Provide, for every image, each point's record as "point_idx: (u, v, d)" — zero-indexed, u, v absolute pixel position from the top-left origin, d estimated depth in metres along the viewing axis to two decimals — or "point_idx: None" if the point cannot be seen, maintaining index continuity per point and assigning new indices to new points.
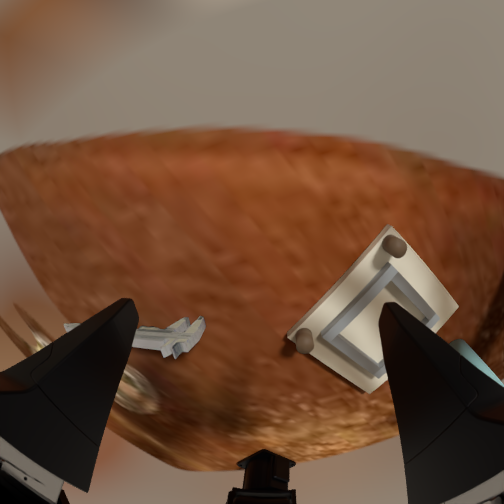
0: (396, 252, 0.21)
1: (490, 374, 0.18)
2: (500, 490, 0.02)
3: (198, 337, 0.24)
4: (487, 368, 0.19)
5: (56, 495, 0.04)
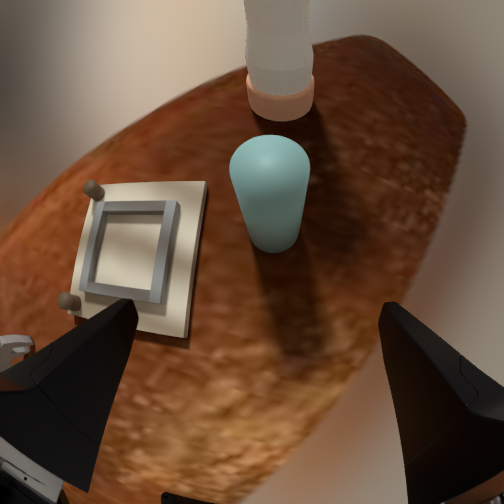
0: (88, 189, 0.24)
1: None
2: (500, 490, 0.02)
3: (16, 339, 0.21)
4: None
5: (56, 495, 0.04)
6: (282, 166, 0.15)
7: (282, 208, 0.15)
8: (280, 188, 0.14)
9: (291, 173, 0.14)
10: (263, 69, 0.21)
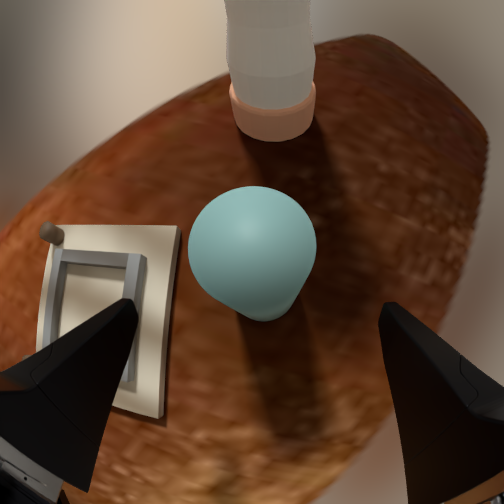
0: (44, 233, 0.19)
1: None
2: (500, 490, 0.02)
3: None
4: None
5: (56, 495, 0.04)
6: (271, 245, 0.09)
7: (271, 308, 0.10)
8: (267, 286, 0.09)
9: (286, 258, 0.09)
10: (249, 75, 0.16)
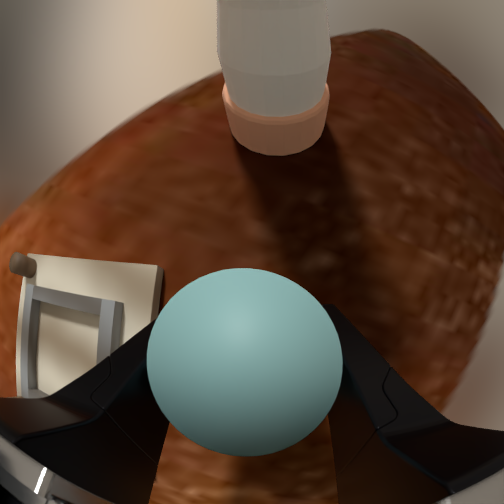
0: (14, 266, 0.15)
1: None
2: None
3: None
4: None
5: None
6: (272, 373, 0.06)
7: None
8: (265, 430, 0.05)
9: (294, 391, 0.05)
10: (246, 73, 0.12)
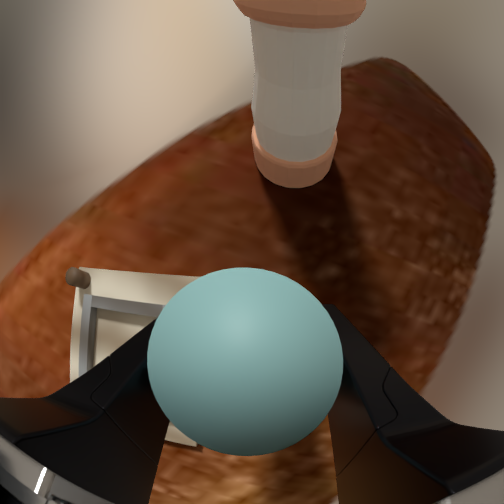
0: (71, 279, 0.20)
1: None
2: None
3: None
4: None
5: None
6: (273, 372, 0.06)
7: None
8: (265, 429, 0.05)
9: (295, 391, 0.05)
10: (277, 132, 0.18)
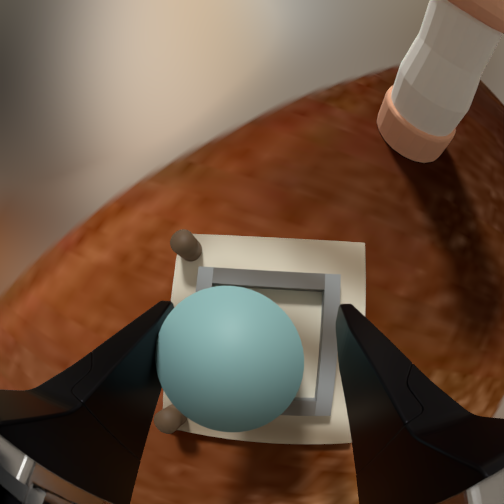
0: (182, 246, 0.17)
1: None
2: None
3: None
4: None
5: None
6: (249, 366, 0.07)
7: None
8: (243, 411, 0.07)
9: (265, 381, 0.07)
10: (434, 103, 0.15)
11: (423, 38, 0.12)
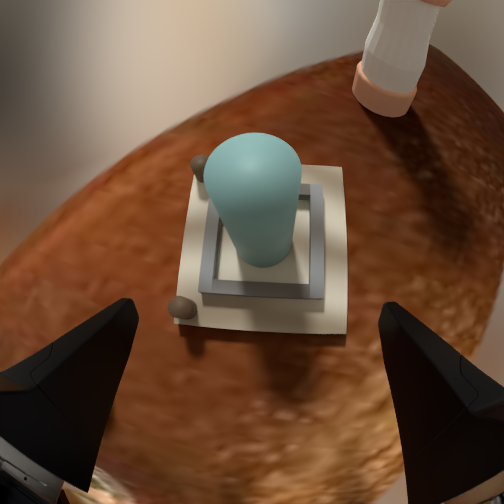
0: (199, 165, 0.22)
1: None
2: (500, 490, 0.02)
3: None
4: None
5: (56, 495, 0.04)
6: (267, 171, 0.12)
7: (268, 222, 0.13)
8: (265, 198, 0.12)
9: (278, 179, 0.12)
10: (391, 66, 0.19)
11: (378, 18, 0.16)
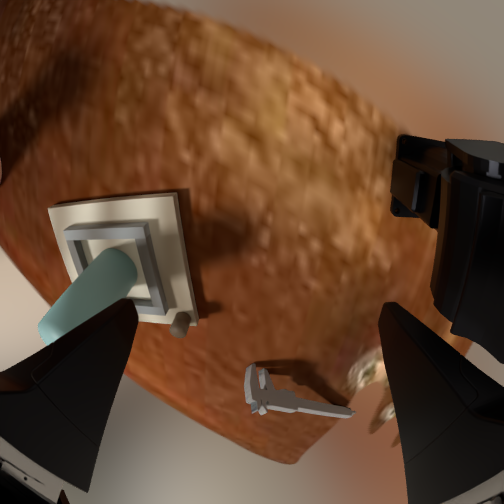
0: None
1: None
2: (500, 490, 0.02)
3: (248, 384, 0.27)
4: None
5: (56, 495, 0.04)
6: (57, 337, 0.15)
7: None
8: None
9: (57, 332, 0.15)
10: None
11: None
